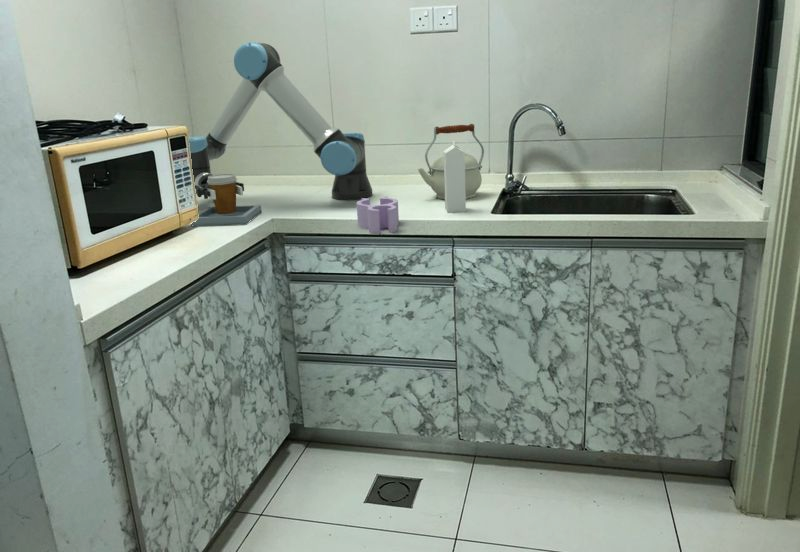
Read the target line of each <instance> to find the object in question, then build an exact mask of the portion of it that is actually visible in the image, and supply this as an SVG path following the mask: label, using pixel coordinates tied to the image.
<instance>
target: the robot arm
mask: <svg viewBox="0 0 800 552" xmlns="http://www.w3.org/2000/svg"><path fill="white" fill-rule="evenodd" d="M233 63H234V64H233V65H234V69H235V71H236V72H237V73H238V75H239V76H240V77H241V78H242V80H241V81H240V83H239V84H238V86H237V88H236V89H235V90H234V92H233V93H232V95H231V97H230V98H229V100H228V101H227V103H226V105H225V106H224V108H223V110H222V111H221V113H220V114H219V117H218V118H217V119H216V121H215V122H214V124H213V125H212V127H211V129H210V131H209V132H208V133H207V135H206V137H205V136H202V135H201V136H191V137H190V136H189V143H190V151H191V159H192V169H193V175H194V182H195V189H196V193H195V194H196V196H197V198H202V196H203V199H204V200H206V199H207V200H208V199H211V200H213V199H216V194H215V191H214V190H212V189H210V187H209V184H208V182H207V181H208V177H209V176H212V175H214V174H213V173H212V171H211V164H210V161H213V160H215V159H219V158H221V157H222V156H223V155H224V154H225V153H226V149H227V148H226V146H227V144H228V143H229V142H230V140H231V139H232V137H233V135H234V134H235V132H236V131H237V130H238V128H239V126H240V125H241V123H242V122H243V120H244V119H245V117H246V116H247V114H248V113H249V111H250V109H251V108H252V107H253V105H254V103H255V102H256V100H257V98H258V97H259V96H260V94H261V93H262V92H265V93H266V94H267V95H268V96H269V97H270V99H272V100H273V101H274V103H275V104H276V105H277V106H278V107H279V108H280V109H281V110H282V111H283V112H284V114H286V117H288V118H289V119H290V120H291V122H292V123H294V125H295V126H296V127H297V128H298V129H299V130H300V131H301V133H303V135H304V136H305V137H306V138H307V139H308V141H310V142H311V143H312V144H313V153H315V155H316V156H318V157H319V159H320V162H321V165H322V168H323V169H324V170H325V171H326V172H327V173H329V174H331V175H334V180H333V183H332V187H331V198H332V199H336V200H361V199H362V198H371V197H372V196H373V187H372V185H371V182H370V179H369V178H368V175H367V165H366V164H367V163H366V147H365V146H366V145H365V144H366V142H365V137H364V134H363V133H361V132H342V130H340V128H336V127H332V126H331V125H330V124H329V123H328V122H327V120H326V119H325V118H324V117H323V116H322V115H321V114H320V112H318V110H317V109H316V108H315V107H314V106H313V105H312V103H310V101H309V100H308V99H307V98H306V96H304V95H303V93H301V91H300V90H299V89H298V88H297V87H296V86H295V85H294V83H293V82H292V81H291V80H290V79H289V78H288V77H287V76H286V74H285V67H284V66H283V65H282V64H281V58H280V54H279V52H278V50H277V49H276V48H275V47H273V46H272V45H271V44H268V43H264V42H261V43H260V42H256V41H255V42H254V41H251V42H249V41H248V42H246V43H243V44H241V45H240V46H239V47H238V48H237V49H236V51H235V54H234V57H233ZM244 185H245V184H244V182H238V181H236V195H238V196H240V197H241V196H244V192H245V186H244Z"/></svg>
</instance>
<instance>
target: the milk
mask: <svg viewBox="0 0 800 552" xmlns="http://www.w3.org/2000/svg"><path fill="white" fill-rule="evenodd" d="M451 142H452V145H451V146H449V147H447V148H446V149H444V150H443V155H444V183H445V200H444V209H445V210H446V213H462V212H463V213H465V212H466V211H467V206H466V205H467V203H466V200H467V199H466V195H465V154H466V153H465V151H464V150H463V149H461V148H460V147H459V148H460V149H459V148H457V147H458V146H457V147H455V146H456V142H455V140H452V141H451Z"/></svg>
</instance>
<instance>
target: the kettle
mask: <svg viewBox="0 0 800 552" xmlns="http://www.w3.org/2000/svg"><path fill="white" fill-rule="evenodd" d="M464 132H470V133H472V137H473V139H474V140H475V141H476V142H477V144H479V146H480V148H481V154H480V158H479V162H478V160H477V159H476V158H475V157H474V156H473V155H471V154H468V153H465V195H466V200H468V199H472V198H474V197H476V195H477V194H476V193H477V191H478V190H479V189H480V188H481V185H482V174H481V169H482V168H483V165H481V164H482V162H483V159H484V157H485V156H484V155H485V149H484V148H485V147H484V145H483V144H482V143H481V141H480V140H479V139H478V137H476V134H475V133H476V132H475V124H474V123H469V124H456V125H446V126H441V127H439V126H434V127H433V133H434V134H433V140H432V141H431V142H430V144H429V146H428V147H427V149H426V150H425V152H424V153H425V154H424V158H425V162H426V165H427V167H428V169H429V170H428V171H427V172H426V170H425V169H424V168H422V167H421V168H418V169H417V171H418V172H419V175H420V176H421V178H422V179H423V181H424V182H425V183H426V185H428V186H429V187H431V189H432V191H433V192H434V193H435V195H436V196H435V197H436V198H437V199H440V200H444V201H445V183H444V154H441V155H440V156H438V157H436V158H435V160H434V161H433V162H432V165H430V163H429V160H428V154H429V151H430V149H431V148H432V146H433V145H434V143H435V142H436V140H437V135H440V134H454V133H464ZM455 147H457V148H459V149H461V148H460V147H458V146H457V145H455Z"/></svg>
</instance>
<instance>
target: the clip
mask: <svg viewBox="0 0 800 552" xmlns="http://www.w3.org/2000/svg"><path fill="white" fill-rule="evenodd" d="M356 214H357V217H356V218H357V226H358V227H360V228H363V229H368V232H369V233H370V234H375V235H379V234H381V229H388V233H395V232H397V231H398V225H399V224H400V218H399V217H400V216H399V201H398V199H396V198H393V197H388V196H382V197H379V204H371V200H370V198H368V197H366V198H361V199H359V200H358V201H357V202H356Z"/></svg>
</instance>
